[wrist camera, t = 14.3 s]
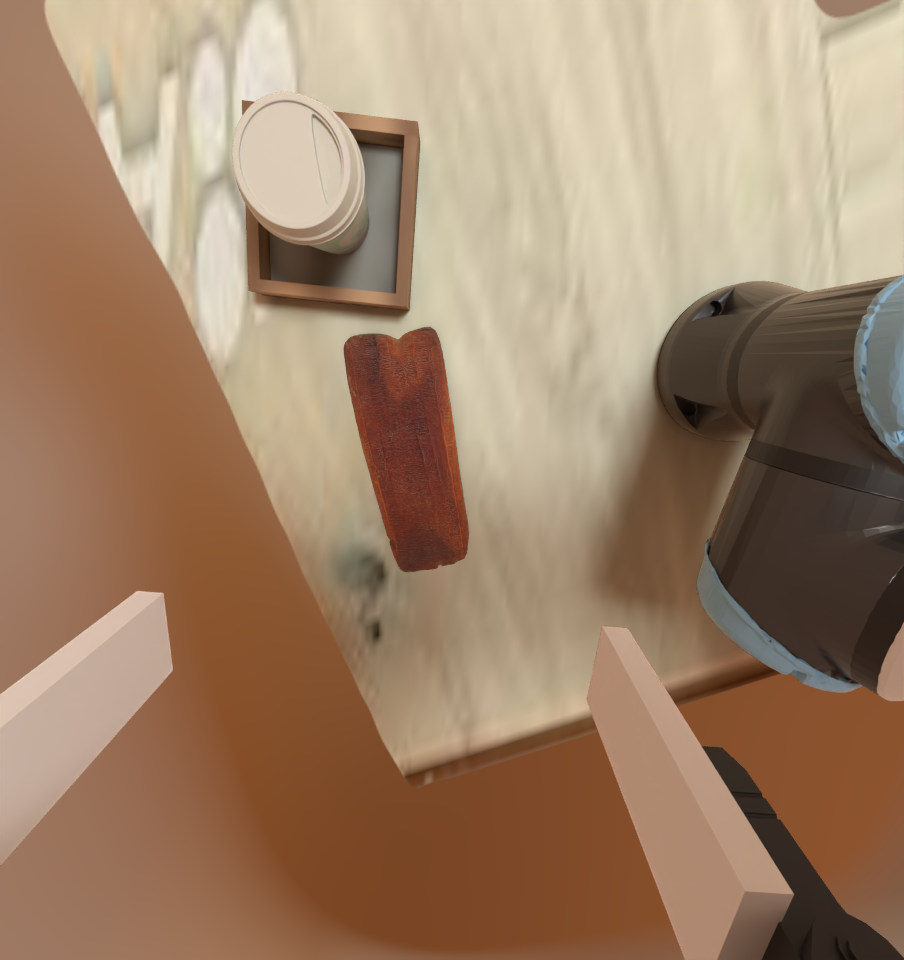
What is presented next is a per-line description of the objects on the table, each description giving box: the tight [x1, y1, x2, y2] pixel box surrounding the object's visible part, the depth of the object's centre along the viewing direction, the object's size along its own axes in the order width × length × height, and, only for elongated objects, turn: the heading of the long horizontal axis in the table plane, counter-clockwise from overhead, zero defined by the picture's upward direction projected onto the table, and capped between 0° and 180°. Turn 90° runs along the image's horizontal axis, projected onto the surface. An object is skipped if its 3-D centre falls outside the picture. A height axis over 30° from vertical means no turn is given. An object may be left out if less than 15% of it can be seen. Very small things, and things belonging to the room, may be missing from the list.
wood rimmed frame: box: [242, 100, 420, 310], centre depth 38 cm, size 14×14×4 cm
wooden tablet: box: [344, 327, 469, 572], centre depth 46 cm, size 27×10×2 cm, turn 9°
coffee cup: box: [232, 92, 370, 255], centre depth 33 cm, size 8×8×12 cm
